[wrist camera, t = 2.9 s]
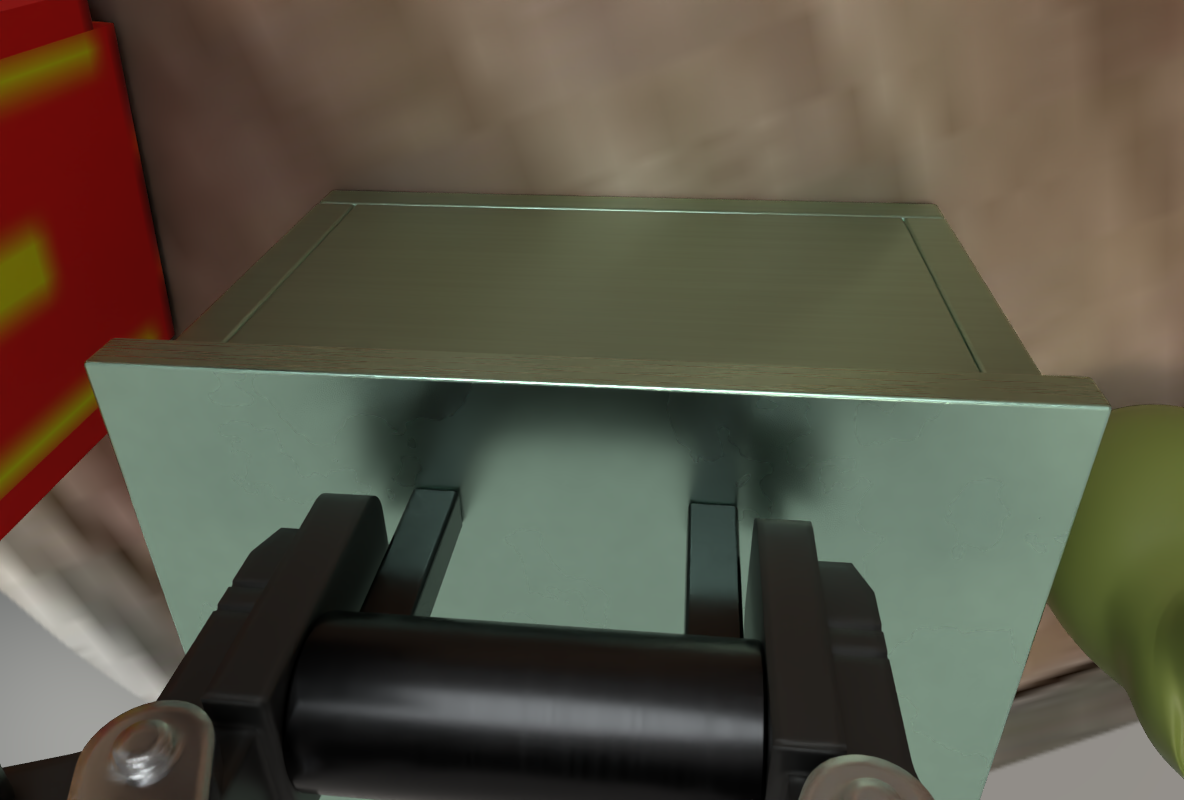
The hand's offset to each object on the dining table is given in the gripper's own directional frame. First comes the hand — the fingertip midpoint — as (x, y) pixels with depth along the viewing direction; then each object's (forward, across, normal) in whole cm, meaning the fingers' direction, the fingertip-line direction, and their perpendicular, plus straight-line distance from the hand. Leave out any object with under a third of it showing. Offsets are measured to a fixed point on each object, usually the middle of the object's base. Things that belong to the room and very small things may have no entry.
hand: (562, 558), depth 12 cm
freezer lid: (+2, 0, +6) cm, 6 cm away
